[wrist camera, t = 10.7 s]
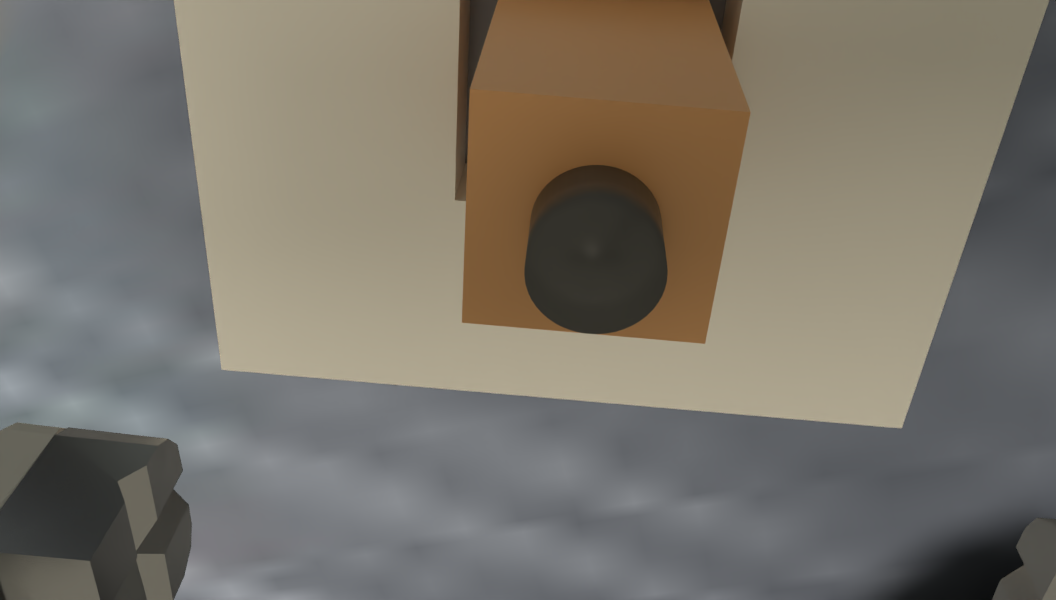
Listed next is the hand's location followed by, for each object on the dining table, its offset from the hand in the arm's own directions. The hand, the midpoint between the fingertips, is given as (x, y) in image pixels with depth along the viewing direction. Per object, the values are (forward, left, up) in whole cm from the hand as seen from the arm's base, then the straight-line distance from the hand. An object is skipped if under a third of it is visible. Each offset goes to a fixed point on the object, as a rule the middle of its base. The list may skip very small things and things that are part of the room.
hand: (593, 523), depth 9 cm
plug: (0, 0, -14) cm, 14 cm away
